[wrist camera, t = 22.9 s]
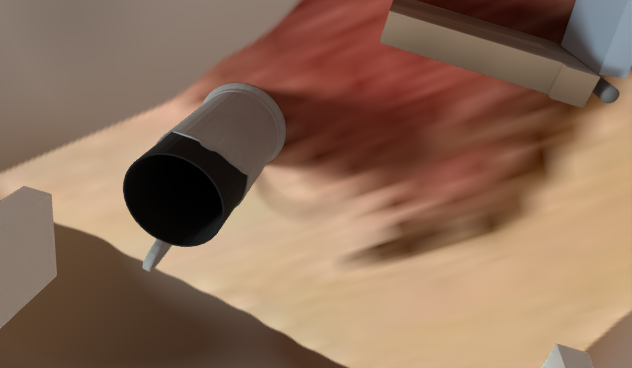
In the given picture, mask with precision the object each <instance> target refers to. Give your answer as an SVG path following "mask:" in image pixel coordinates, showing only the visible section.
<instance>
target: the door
mask: <svg viewBox="0 0 632 368" xmlns="http://www.w3.org/2000/svg"><path fill="white" fill-rule="evenodd" d="M561 46H562V47H563V48H564V49H566V50H567V51H568V52H570V53H571V54H572V55H574V56H575V57H576V58H578V59H579V60H580V61H582V62H583V63H584V64H586V65H587V66H588V67H590V68H591V69H592V70H593V71H595V72H596V73H597V74H599V75H605V76H612V77H619V78H627V75H628V73H629V70H630V68H631V66H632V0H576V2H575V5H574V8H573V11H572V14H571V17H570V19H569V22H568V25H567V28H566V31H565V34H564V37H563V40H562V43H561Z"/></svg>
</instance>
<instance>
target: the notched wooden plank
mask: <svg viewBox="0 0 632 368" xmlns="http://www.w3.org/2000/svg"><path fill="white" fill-rule="evenodd" d="M380 43H382V44H385V45H389V46H392V47H395V48H399V49H402V50H405V51H408V52H412V53H415V54H418V55H422V56H425V57H428V58H431V59H435V60H438V61H441V62H445V63H448V64H451V65H454V66H458V67H461V68H464V69H468V70H471V71H474V72H477V73H481V74H484V75H487V76H490V77H494V78H497V79H500V80H504V81H507V82H510V83H513V84H517V85H520V86H523V87H527V88H530V89H533V90H536V91H540V92H543V93H546V94H548V96H549V97H550V98H551V99H554V100H558V101H561V102H564V103H568V104H571V105H574V106H577V107H581V108H583V107H584V105H585V103H586V102H587V100H588V98H589V96H590V95H591V93H592V92H593V93H594V94H595V95H596V96H597V97H599V98H600V99H601V100H602V101H603V102H605V103H612V102H614V101H616V100H617V99H618V97H619V91H618V90H617V89H616V88H615V87H614V86H612V85H611V84H610V83H608V82H607V81H606V80H604V79H603V78H602V77H600V76H599V75H598V74H596V73H595V72H594V71H592V70H591V69H590V68H589V67H587V66H586V65H585V64H583V63H582V62H581V61H579V60H578V59H577V58H575V57H574V56H573V55H571V54H570V53H568V52H567V51H566V50H564V49H563V48H562V47H560V46H559V45H558V44H556V43H555V42H554V41H551V40H548V39H544V38H541V37H538V36H534V35H531V34H528V33H524V32H521V31H518V30H514V29H511V28H508V27H504V26H501V25H498V24H494V23H491V22H488V21H484V20H481V19H478V18H474V17H471V16H468V15H464V14H461V13H458V12H454V11H451V10H448V9H444V8H441V7H438V6H434V5H431V4H428V3H424V2H421V1H418V0H393V3H392V6H391V8H390V11H389V14H388V17H387V21H386V24H385V27H384V30H383V33H382V36H381V40H380Z"/></svg>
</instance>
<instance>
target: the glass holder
mask: <svg viewBox="0 0 632 368" xmlns="http://www.w3.org/2000/svg"><path fill="white" fill-rule="evenodd" d="M285 138H286V125H285V120H284V117H283V114H282V112H281V110H280V108H279V106H278V105H277V104H276V102H275V101H274V100H273V99H272V98H271V97H270V96H269V95H268V94H267V93H265V92H264V91H263V90H261V89H259V88H257V87H255V86H253V85H249V84H246V83H228V84H224V85H222V86H220V87H217V88H216V89H214V90H213V91H212V92H211V93H210V94H209V95H208V96H207V97H206V99H205V100H204V102H203V104H202V106H201V107H199V108H198V109H197V110H196V111H194V112H193V113H192V114H191V115H189V116H188V117H187V118H185V119H184V120H183V121H182V122H180V123H179V124H178V125H177V126H175V127H174V128H173V129H171V130H170V131H169V132H168V133H166V134H165V135H164V136H163V137H162V138H161V139H160V140H159V141H158V142H157V144H156V145H155V146H154V147H153V148H151V149H150V150H149V151H148V152H146V153H145V154H144V155H143V156H141V157H140V158H139V159H138V160H136V161H135V162H134V163H133V164H132V165H131V166H130V167H129V169H128V171H127V173H126V175H125V178H124V182H123V193H124V199H125V202H126V205H127V207H128V209H129V211H130V214H131V215H132V216H133V218H134V219H135V221H136V222H137V223H138V224H139V225H140V226H141V227H142V228H143V229H144V230H145V231H146V232H147V233H149V234H150V235H152V236H153V237H155V238H156V239H157V240H156V241H155V243H154V244H153V246H152V247H151V249H150V251H149V252H148V254H147V256H146V258H145V260H144V263H143V268H144V269H145V270H147V271H149V272H150V271H152V270H153V269H154V268H155V267H156V265H157V264H158V263H159V262H160V261H161V259H162V258H163V257H164V255H165V254H166V253H167V251H168V250H169V249H170V247H171V246H172V245H175V246H180V247H192V246H198V245H201V244H204V243H206V242H208V241H209V240H211V239H212V238H213V237H214V236H215V235H216V234H217V233H218V231H219V230H220V229H221V227H222V226H223V224H224V223H225V221H226V220H227V218H228V217H229V215H230V214H231V212H232V211H233V209H234V208H235V207H237V206H238V205H239V204H240V203H241V201H242V200H243V199H244V197H245V196H246V194H247V192H248V191H249V189H250V188H251V186H252V185H253V183H254V182H255V180H256V179H257V177H258V176H259V174H260V173H261V171H262V170H263V168H264V167H265V165H266V164H267V163H269V162H270V161H272V160H273V159H274V158H275V157H276V156H277V155H278V154H279V152H280V151H281V149H282V147H283V145H284V142H285Z"/></svg>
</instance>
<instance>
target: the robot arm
mask: <svg viewBox="0 0 632 368" xmlns="http://www.w3.org/2000/svg"><path fill="white" fill-rule="evenodd" d="M56 276H57V270H56V255H55V240H54V225H53V210H52V195H51V194H49V193H46V192H43V191H39V190H36V189H32V188H29V187H26V186H23V187H22V188H20V189H18V190H17V191H15V192H14V193H12V194H10V195H9V196H7V197H6V198H4V199H2V200H1V201H0V328H1V327H2V326H3V325H4V324H6V323H7V322H8V321H9V320H10V319H11V318H12V317H13V316H14V315H15V314H16V313H17V312H18V311H19V310H20V309H22V307H24V306H25V305H26V304H27V303H28V302H29V301H30V300H31V299H32V298H33V297H34V296H35V295H36V294H37V293H39V292H40V291H41V290H42V289H43V288H44V287H45V286H46V285H47V284H48V283H49V282H50V281H51V280H52V279H53V278H55V277H56ZM541 368H594V366H593V363H592V361H591V358H590V356H589V354H588V353H586V352H583V351H580V350H576V349H573V348H570V347H566V346H563V345H559V344H556V345H555V347H554V348H553V350H552V351H551V353H550V354H549V356H548V357H547V359H546V360H545V362H544V363H543V365H542V366H541Z"/></svg>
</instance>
